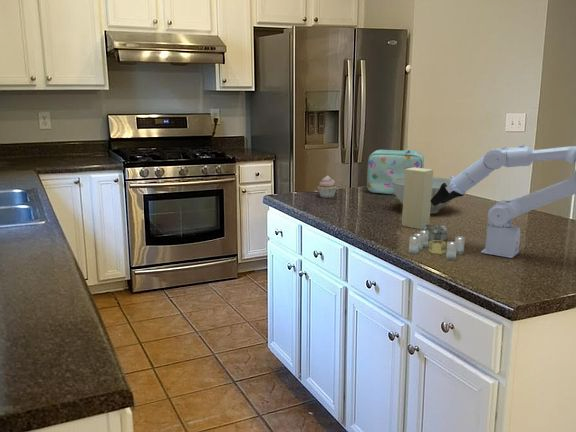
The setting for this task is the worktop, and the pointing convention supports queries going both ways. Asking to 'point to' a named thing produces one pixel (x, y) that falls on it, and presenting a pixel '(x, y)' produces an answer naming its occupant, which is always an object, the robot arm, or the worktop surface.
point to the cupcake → (327, 187)
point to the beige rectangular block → (417, 197)
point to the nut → (437, 246)
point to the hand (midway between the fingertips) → (436, 202)
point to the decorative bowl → (436, 184)
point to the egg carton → (436, 232)
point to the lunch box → (390, 168)
